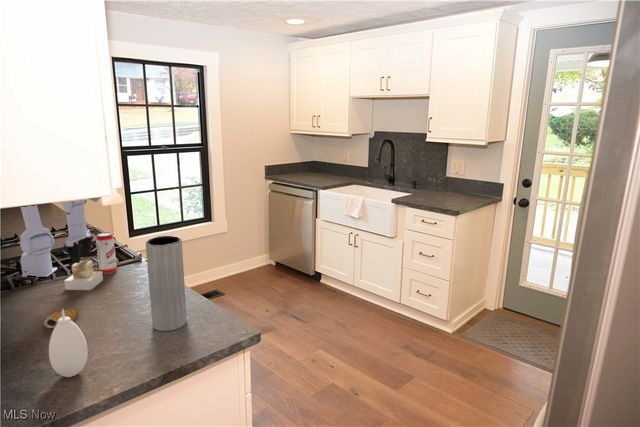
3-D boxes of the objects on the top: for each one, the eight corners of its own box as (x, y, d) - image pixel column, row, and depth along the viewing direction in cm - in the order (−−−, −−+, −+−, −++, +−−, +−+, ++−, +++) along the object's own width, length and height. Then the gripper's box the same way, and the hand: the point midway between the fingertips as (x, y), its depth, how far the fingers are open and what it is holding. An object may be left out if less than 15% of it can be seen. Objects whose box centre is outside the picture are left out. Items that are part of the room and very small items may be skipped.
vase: (152, 318, 129) (145, 237, 123) (185, 313, 133) (180, 234, 126) (152, 334, 120) (145, 247, 114) (187, 328, 124) (182, 243, 117)
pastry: (66, 313, 131) (65, 302, 130) (85, 316, 130) (83, 305, 129) (42, 328, 122) (40, 316, 121) (61, 331, 121) (59, 319, 120)
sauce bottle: (45, 380, 99) (34, 312, 95) (74, 362, 106) (65, 298, 102) (68, 388, 96) (58, 319, 92) (97, 369, 103) (89, 304, 99)
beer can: (120, 269, 167) (116, 232, 164) (111, 275, 161) (107, 236, 157) (105, 268, 168) (101, 231, 164) (96, 274, 162) (91, 236, 158)
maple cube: (73, 278, 149) (71, 265, 148) (79, 273, 154) (78, 260, 152) (87, 278, 149) (86, 265, 148) (93, 273, 154) (92, 260, 153)
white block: (65, 290, 148) (64, 280, 147) (79, 280, 157) (78, 271, 156) (90, 291, 148) (89, 280, 147) (103, 281, 157) (102, 271, 156)
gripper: (79, 228, 140) (84, 265, 143) (96, 218, 154) (100, 252, 157) (57, 229, 139) (62, 266, 142) (76, 218, 153) (81, 252, 156)
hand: (81, 258), depth 150 cm, fingers open, 7 cm apart
